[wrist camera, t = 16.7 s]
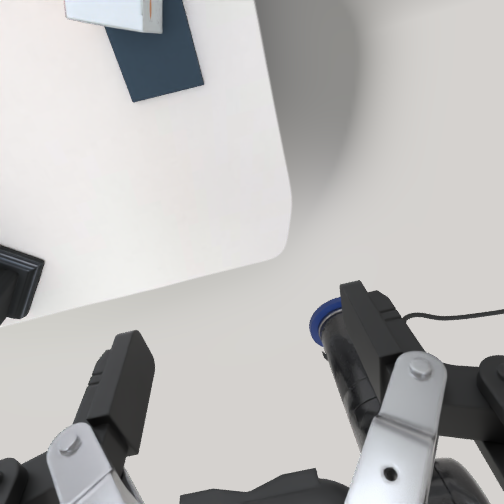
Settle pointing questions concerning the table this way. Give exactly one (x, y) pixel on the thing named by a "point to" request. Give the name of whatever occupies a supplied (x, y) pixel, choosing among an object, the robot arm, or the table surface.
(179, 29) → the side mat
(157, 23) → the small box
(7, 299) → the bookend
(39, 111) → the table surface
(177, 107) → the table surface
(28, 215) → the table surface
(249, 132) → the table surface
